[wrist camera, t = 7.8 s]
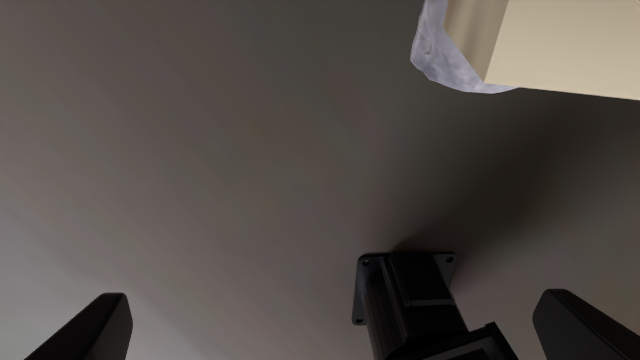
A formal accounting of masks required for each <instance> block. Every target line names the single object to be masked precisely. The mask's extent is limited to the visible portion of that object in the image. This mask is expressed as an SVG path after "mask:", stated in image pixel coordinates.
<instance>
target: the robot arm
mask: <svg viewBox="0 0 640 360" xmlns="http://www.w3.org/2000/svg"><path fill="white" fill-rule="evenodd" d="M448 257H452V259H450V260H446V259H447V258H448ZM365 260H368V261H369V262H368V263H366V264H363V263H362V262H363V261H365ZM456 262H457V256H456V254H455V253H454V252H429V251H428V252H402V253H391V254H376V255H363V256H361V257H360V258H359V259H358V262H357V272H356V282H355V291H354V301H353V310H352V323H353V324H354V325H358V326H359V325H367V328H368V333H369V337H370V342H371V346H372V351H373V355H374V360H519V359H518V358H517V356H516V354H515V353H514V351H513V350H512V348H511V347H510V345H509V344H508V342H507V340H506V339H505V337H504V336H503V334H502V333H501V331H500V329H499V328H498V326H497V325H496V323H495V322H491V323H488V324H485V327H482V328H479V329H476V330H473V331H470V332H469V330H468V328H467V326H466V324H465V322H464V320H463V318H462V316H461V313H460V311H459V309H458V307H457V305H456V303H455V299H454V297H453V295H452V293H451V291H450V289H449V287H450V284H451V280H452V276H453V273H454V269H455V266H456ZM359 318H360V319H361V320H359V321H357V319H359ZM533 324H534V327H535V330H536V332H537V335H538V338H539V340H540V343H541V345H542V348H543V350H544V353H545V356H546V358H547V360H640V336H639V335H637V334H636V333H634V332H632V331H631V330H629V329H628V328H626V327H625V326H623V325H622V324H620V323H618V322H617V321H615V320H614V319H612V318H611V317H609V316H607V315H606V314H604V313H603V312H601V311H600V310H598V309H596V308H595V307H593V306H592V305H590V304H589V303H587V302H586V301H584V300H582V299H581V298H579V297H578V296H576V295H575V294H573V293H571V292H570V291H568V290H566V289H547V290H545V291H544V293H543V294H542V296H541V298H540V300H539V302H538V304H537V306H536V308H535V310H534V312H533ZM132 328H133V320H132V316H131V312H130V308H129V304H128V300H127V297H126V295H125V294H124V293H103V294H101V295H100V296H98V297H97V298H96V299H95V300H94V301H92V302H91V303H90V304H89V305H88V306H86V307H85V308H84V309H83V310H82V311H81V312H79V313H78V314H77V315H76V316H75V317H74V318H72V319H71V320H70V321H69V322H68V323H66V324H65V325H64V326H63V327H62V328H61V329H59V330H58V331H57V332H56V333H55V334H54V335H52V336H51V337H50V338H49V339H48V340H46V341H45V342H44V343H43V344H42V345H41V346H39V347H38V348H37V349H36V350H35V351H33V352H32V353H31V354H30V355H29V356H28V357H26V358H25V359H24V360H125V358H126V354H127V350H128V346H129V342H130V338H131V334H132Z"/></svg>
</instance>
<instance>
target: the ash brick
mask: <svg viewBox="0 0 640 360" xmlns="http://www.w3.org/2000/svg"><path fill="white" fill-rule="evenodd" d="M443 29H444V30H445V31H446V33H447V34H448V35H449V37H450V38H451V39H452V41H453V42H454V43H455V45H456V46H457V48H458V49H459V50H460V52H461V53H462V54H463V56H464V57H465V58H466V60H467V61H468V62H469V64H470V65H471V66H472V68H473V69H474V70H475V72H476V73H477V75H478V76H479V77H480V79H481V80H482V81H483V83H487V84H496V85H506V86H515V87H524V88H533V89H542V90H551V91H561V92H570V93H579V94H588V95H597V96H607V97H616V98H625V99H634V100H640V0H448V5H447V9H446V14H445V18H444V23H443Z"/></svg>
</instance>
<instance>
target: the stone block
mask: <svg viewBox="0 0 640 360" xmlns="http://www.w3.org/2000/svg"><path fill="white" fill-rule="evenodd" d="M447 5H448V0H424V4H423V7H422V11H421V13H420V16H419V21H418V27H417V31H416V35H415V38H414V41H413V44H412V50H411V62H412V63H413V64H414V65H415V66H416V68H417V69H419V70H421V71H423V72H424V74H425V75H426V76H427V77H428V78H429V80H432V81H435V82H438V83H440V84H443V85H445V86H448V87H451V88H454V89H457V90H460V91H463V92H478V93H491V94H492V93H498V92H504V91H508V90H511V89H515V88H518V87H515V86H506V85H496V84H487V83H483V81H482V80H481V79H480V77H479V76H478V75H477V73H476V72H475V70H474V69H473V68H472V66H471V65H470V64H469V62H468V61H467V60H466V58H465V57H464V56H463V54H462V53H461V52H460V50H459V49H458V48H457V46H456V45H455V43H454V42H453V41H452V39H451V38H450V37H449V35H448V34H447V33H446V31H445V30H444V29H443V23H444V18H445V14H446V9H447Z"/></svg>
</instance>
